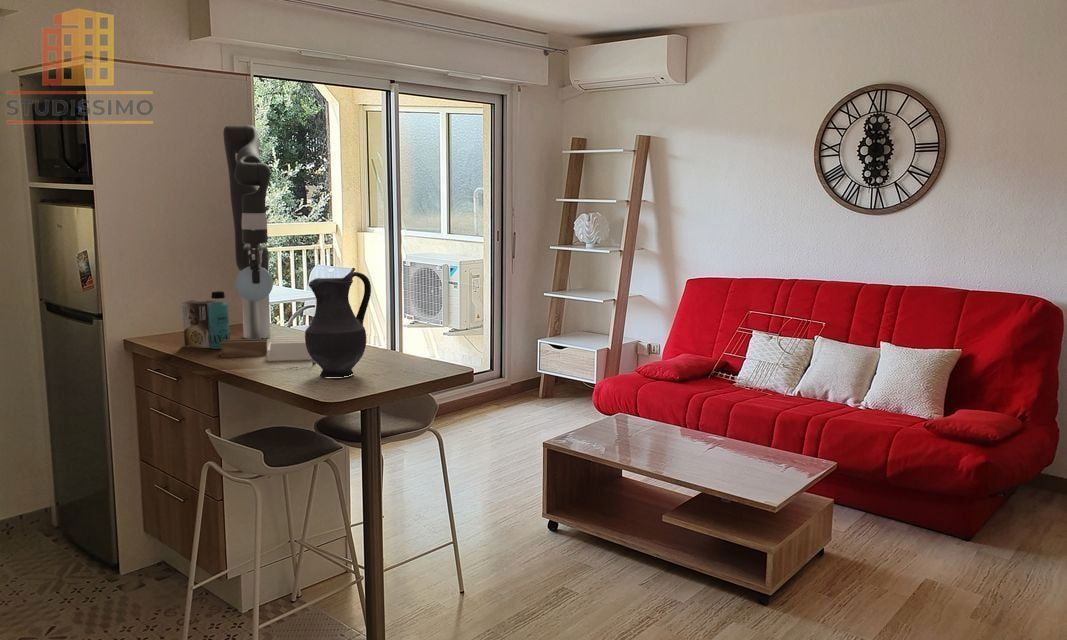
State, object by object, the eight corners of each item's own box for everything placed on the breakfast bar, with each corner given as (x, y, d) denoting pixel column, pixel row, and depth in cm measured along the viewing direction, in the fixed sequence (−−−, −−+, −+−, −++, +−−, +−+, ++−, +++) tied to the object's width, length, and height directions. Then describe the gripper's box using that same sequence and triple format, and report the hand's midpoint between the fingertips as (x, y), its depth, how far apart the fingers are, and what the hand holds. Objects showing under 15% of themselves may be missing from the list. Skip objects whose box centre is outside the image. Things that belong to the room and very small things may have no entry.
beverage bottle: (205, 351, 275) (202, 291, 272) (221, 348, 281) (218, 289, 277) (219, 354, 272) (216, 293, 269) (235, 350, 278) (232, 291, 274)
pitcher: (295, 375, 244) (292, 273, 240) (354, 364, 260) (352, 268, 255) (328, 385, 233) (326, 278, 228) (388, 373, 248) (387, 273, 243)
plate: (235, 299, 262) (237, 264, 261) (272, 301, 265) (273, 267, 263) (235, 299, 261) (236, 264, 259) (271, 302, 263) (273, 267, 262)
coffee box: (219, 347, 282) (217, 300, 280) (209, 351, 276) (207, 303, 273) (193, 346, 283) (191, 299, 281) (183, 350, 277) (181, 302, 274)
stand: (223, 356, 268) (222, 339, 267) (267, 355, 271) (267, 338, 271) (221, 360, 262) (220, 342, 262) (266, 358, 266) (265, 341, 265)
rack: (270, 356, 270) (269, 336, 269) (316, 354, 274) (316, 335, 273) (267, 364, 258) (266, 343, 257) (316, 362, 261) (315, 342, 260)
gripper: (244, 226, 265) (246, 280, 268) (239, 228, 252) (241, 285, 255) (269, 226, 267) (270, 280, 270) (265, 228, 254) (266, 285, 256)
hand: (256, 282), depth 262 cm, fingers closed on plate, 1 cm apart
